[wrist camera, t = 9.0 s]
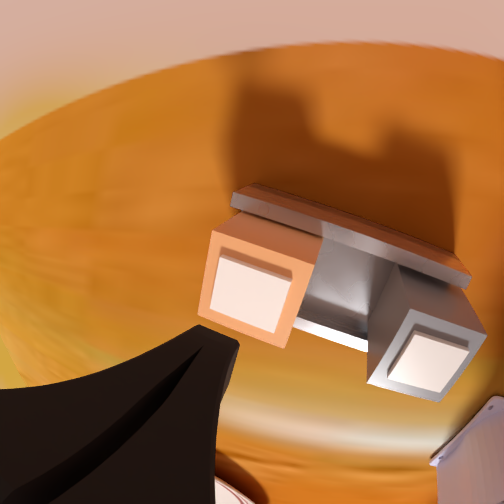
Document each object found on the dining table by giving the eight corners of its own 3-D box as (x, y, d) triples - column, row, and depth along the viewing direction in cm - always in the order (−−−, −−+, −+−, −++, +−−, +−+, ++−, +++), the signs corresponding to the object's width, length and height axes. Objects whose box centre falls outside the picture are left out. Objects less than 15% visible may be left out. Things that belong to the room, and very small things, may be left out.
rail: (408, 343, 17) (413, 376, 14) (231, 282, 20) (209, 306, 17) (454, 253, 15) (472, 276, 12) (254, 182, 17) (233, 191, 14)
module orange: (304, 294, 17) (282, 353, 12) (237, 270, 18) (194, 318, 13) (327, 228, 15) (313, 268, 11) (252, 204, 16) (208, 232, 11)
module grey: (426, 342, 16) (439, 406, 11) (367, 322, 16) (366, 387, 12) (458, 283, 14) (489, 339, 9) (396, 260, 15) (411, 312, 10)
